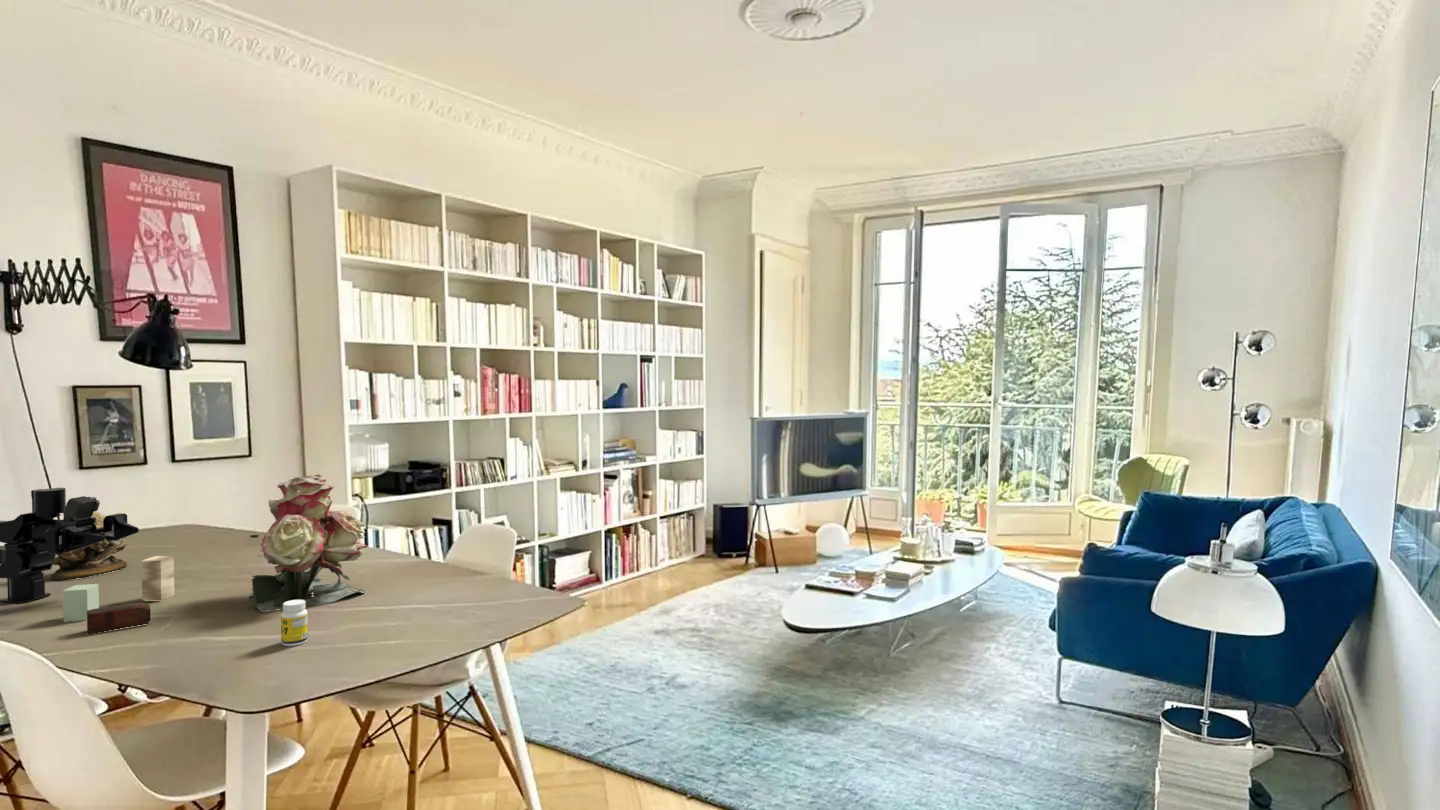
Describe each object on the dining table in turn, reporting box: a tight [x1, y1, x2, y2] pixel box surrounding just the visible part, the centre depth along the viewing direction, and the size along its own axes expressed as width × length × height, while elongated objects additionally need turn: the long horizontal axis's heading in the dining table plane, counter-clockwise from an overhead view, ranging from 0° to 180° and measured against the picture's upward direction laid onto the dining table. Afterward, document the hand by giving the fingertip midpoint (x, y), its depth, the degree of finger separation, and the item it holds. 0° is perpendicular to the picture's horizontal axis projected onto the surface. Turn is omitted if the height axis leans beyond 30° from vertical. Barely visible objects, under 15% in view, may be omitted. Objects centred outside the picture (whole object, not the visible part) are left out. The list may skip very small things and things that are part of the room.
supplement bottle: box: [280, 599, 309, 647], centre depth 152 cm, size 5×5×8 cm
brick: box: [86, 602, 152, 635], centre depth 160 cm, size 11×4×5 cm, turn 130°
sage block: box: [62, 583, 100, 623], centre depth 166 cm, size 4×4×7 cm
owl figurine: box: [50, 511, 128, 581], centre depth 204 cm, size 18×12×17 cm, turn 162°
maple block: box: [141, 555, 175, 600], centre depth 180 cm, size 4×4×10 cm
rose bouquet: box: [242, 473, 368, 613], centre depth 185 cm, size 26×29×30 cm
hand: (121, 534), depth 177 cm, fingers open, 9 cm apart
